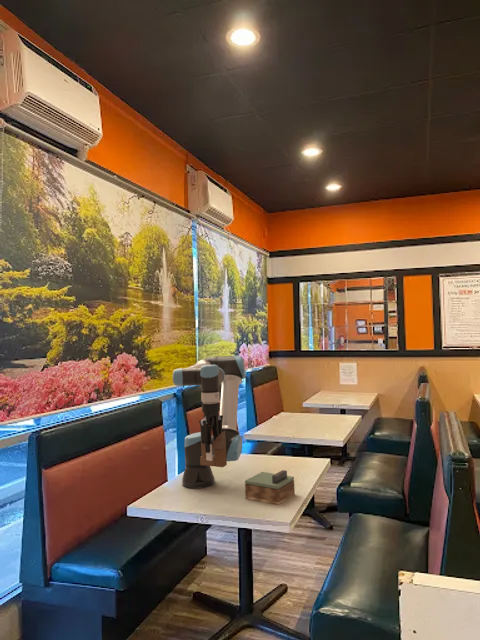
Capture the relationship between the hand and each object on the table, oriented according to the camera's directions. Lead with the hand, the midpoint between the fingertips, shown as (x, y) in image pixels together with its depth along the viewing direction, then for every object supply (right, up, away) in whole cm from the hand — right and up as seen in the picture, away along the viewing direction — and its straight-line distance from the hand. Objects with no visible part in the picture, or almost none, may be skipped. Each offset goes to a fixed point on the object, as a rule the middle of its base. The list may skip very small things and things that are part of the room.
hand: (212, 458), depth 204 cm
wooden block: (0, -3, 0) cm, 3 cm away
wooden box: (+24, -18, +6) cm, 30 cm away
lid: (+24, -11, +6) cm, 27 cm away
